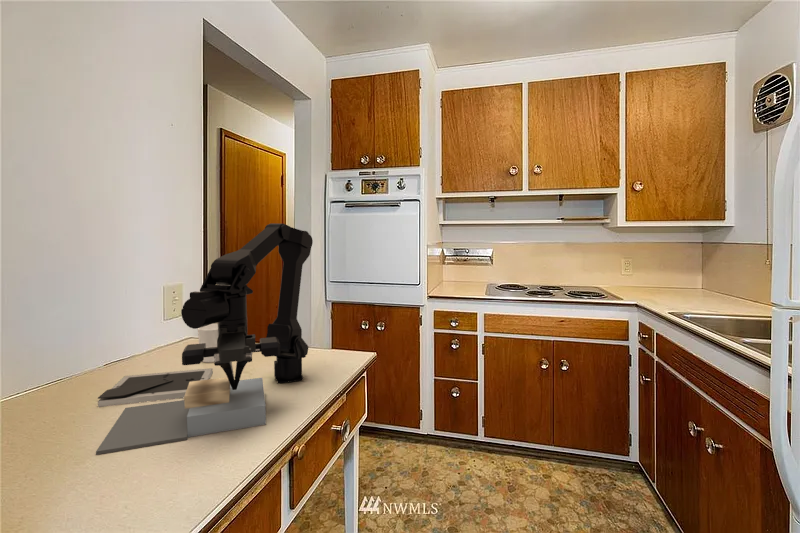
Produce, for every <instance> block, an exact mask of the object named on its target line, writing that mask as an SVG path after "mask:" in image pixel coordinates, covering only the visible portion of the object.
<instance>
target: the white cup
mask: <svg viewBox="0 0 800 533" xmlns="http://www.w3.org/2000/svg"><path fill="white" fill-rule="evenodd" d="M197 337H198V344H202V343H206V348H210V347H217V339H218V323H214V324H211V325H207V326H204V327H201V328H197ZM202 362H203V363H214V362H215V358H214V356H213V357H204V360H203V361H202Z"/></svg>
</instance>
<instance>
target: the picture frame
mask: <svg viewBox="0 0 800 533" xmlns="http://www.w3.org/2000/svg"><path fill="white" fill-rule="evenodd" d="M213 372H214V370H213V368H212V367H209V368H200V369H199V368H198V369H187V370H186V369H185V370H177V371H165V372H164V371H163V372H154V373H143V374H142V373H141V374H132V375H130V374H129V375H124V376H123V377H122V378H121V379H120V380H119V381H118V382H117V383H115V384H114V385H113V386H112V387H111V388H109V389H107V390H105V391H104V392H103V393H102V394H100V395H99V396H98V397H97V399H98V400H97V407H98V408H102V407H103V408H104V407H109V406H110V407H111V406H113V407H114V406H121V404H122V405H130V403H131V404H140V403H139V402H141V403H148V402H147V401H150V402H157V401H156V400H160V401H166V399H169V400H176V399H175V398H179V399H184V398H183V397H184V396H185V393H186V390H187V387H188V385H189V382H192V381H200V380H209V379H211V378H210V377H212V375H213Z"/></svg>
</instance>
